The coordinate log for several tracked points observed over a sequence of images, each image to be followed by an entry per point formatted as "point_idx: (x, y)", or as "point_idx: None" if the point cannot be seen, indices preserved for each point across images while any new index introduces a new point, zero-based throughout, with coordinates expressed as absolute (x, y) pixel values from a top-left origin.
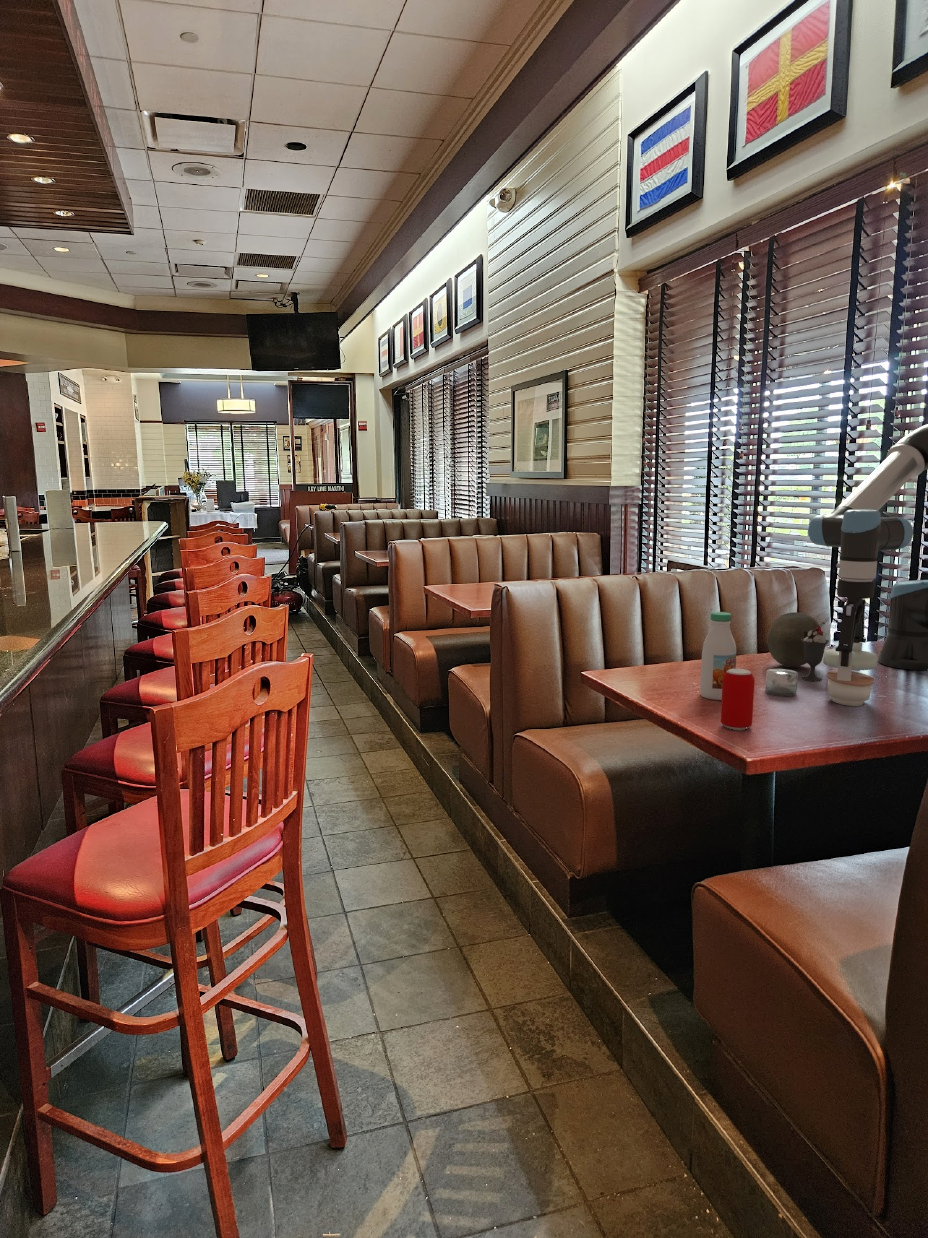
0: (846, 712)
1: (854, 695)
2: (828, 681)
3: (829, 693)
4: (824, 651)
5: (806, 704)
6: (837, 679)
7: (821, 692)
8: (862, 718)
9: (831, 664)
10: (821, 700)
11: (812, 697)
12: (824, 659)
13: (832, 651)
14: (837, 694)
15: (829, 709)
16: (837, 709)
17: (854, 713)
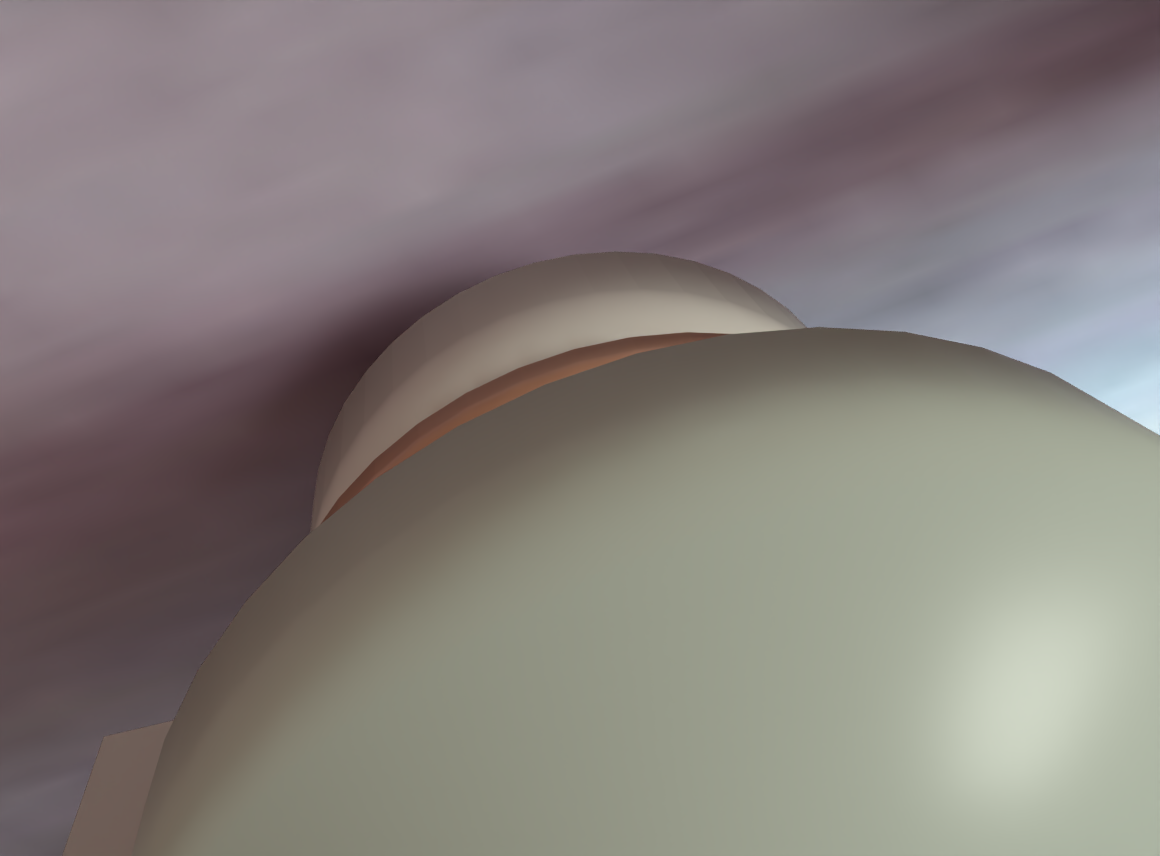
0: (97, 643)
1: None
2: (464, 382)
3: (372, 375)
4: (725, 541)
5: (13, 118)
6: (102, 751)
7: (873, 24)
8: (7, 832)
9: (151, 792)
10: (425, 201)
11: (498, 28)
12: (372, 555)
13: (896, 723)
14: (311, 522)
15: (47, 461)
16: (139, 526)
17: (136, 710)
